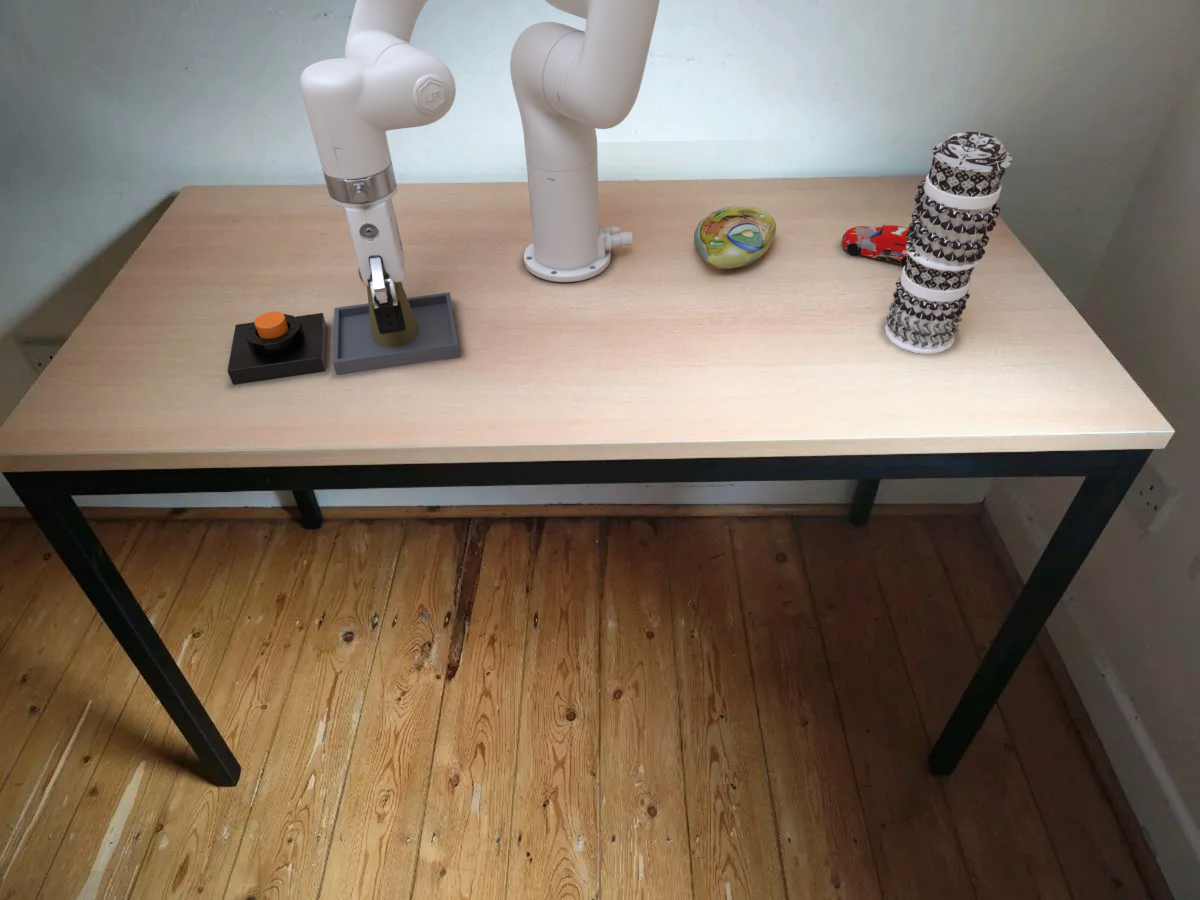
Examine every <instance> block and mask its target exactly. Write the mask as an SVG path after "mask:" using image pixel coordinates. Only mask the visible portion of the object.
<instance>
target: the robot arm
mask: <svg viewBox="0 0 1200 900" xmlns="http://www.w3.org/2000/svg"><path fill="white" fill-rule="evenodd" d="M428 1H429V0H356V1H355V4H354V7H353V12H352V15H351V19H350V23H349V27H348V32H347V37H346V40H345V46H344V55H343V57H335V58H329V59H328V58H327V59H324V60H323V59H322V60H320V61H317V62H314V63H312V64H310V65H308V66H307V67H306V68H305V69H304V70H303V71H302V73H301V75H300V79H299V86H300V92H301V95H302V99H303V102H304V106H305V107H304V108H305V110H306V115H307V118H308V121H309V125H310V130H311V133H312V137H313V140H314V143H315V147H316V151H317V155H318V159H319V162H320V166H321V170H322V173H323V177H324V181H325V185H326V188H327V191H328V196H329V200H330V201H331V202H332V203H333V204H334V205H336V206H338V207H342V208H343V213H344V216H345V222H346V224H347V228H348V229H347V230H348V233H349V237H350V240H351V244H352V249H353V252H354V255H355V259H356V263H357V266H359V270H360V273H361V276H362V279H363V282H364V283H363V282H362V283H363V285H364V284H365V285H364V286H366V287H367V286H368V287H370V289H371V294H372V300H373V310H374V314H375V318H376V322H377V326H378V330H379V333H381V334H386V333H393V332H400V331H404V330H405V329H406V326H405V321H404V317H403V312H402V308H401V304H400V301H397V296H396V290H395V284H394V282H395V283H396V282H401V283H402V284H403V282H405V280H406V277H407V275H406V262H405V261H406V260H405V252H404V246H403V241H402V237H401V233H400V229H399V225H398V220H397V216H396V213H395V208H394V204H393V199H392V198H393V197H394V196H395V195H396V194H397V191H398V185H397V179H396V175H395V170H394V165H393V161H392V155H391V152H390V151H391V150H390V147H389V142H388V141H389V140H388V136H387V131H393V130H394V131H395V130H402V129H409V128H418V127H423V126H428V125H431V124H433V123H436V122H437V121H439V120H441V119H443V118H444V117H445V116H446V115H447V114H448V113H449V111H451V108H452V106H453V105H454V102H455V99H456V93H457V92H456V91H457V90H456V89H457V88H456V87H457V86H456V81H455V78H454V74H453V73H452V71H451V70H450V68H449V67H448V66H447V64H446V63H445V62H444V61H443V60H442V59H440V58H439V57H437V56H436V55H434V54H432V53H431V52H428V51H427V50H424V49H422V48H419V47H418V46H415V45H414V44H412V43H411V40H412V35H413V32H414V29H415V26H416V23H417V20H418V18H419V16H420V14H421V12H422V10H423V8H424V7H425V5H426V3H427V2H428ZM544 1H545V2H546V3H547V4H549V5H550V6H552V7H553V8H555V9H556V10H558V11H561V12H564V13H566V14H570V15H573V16H574V17H578V18H581V19H584V20H586V22H585V30H582V29H578V28H576V27H572V26H570V25H568V24H567V25H566V24H564V23H560V22H554V21H541V22H537V23H533V24H531V25H529V26H528V27H527V28H525V29H523V30H522V32H521V33H520V34H519V35H518V37H517V38H516V40H515V41H514V45H513V47H512V50H511V54H510V60H509V67H510V68H509V69H510V78H511V84H512V88H513V92H514V97H515V100H516V103H517V107H518V112H519V115H520V120H521V126H522V132H523V141H524V142H523V143H524V153H525V163H526V175H527V186H528V198H529V209H530V220H531V232H532V233H531V234H532V241H531V242H530V243H529V245H527V246H526V248H525V250H524V252H523V263H524V267H525V269H526V270H527V271H528V272H529V273H530V274H532V275H533V276H534V277H537V278H540V279H542V280H544V281H548V282H556V283H572V282H573V283H574V282H581V281H585V280H588V279H591V278H594V277H596V276H598V275H599V274H601V273H602V272H604V271H605V270H606V269H607V268H608V267H609V265H610V263H611V259H612V256H611V255H612V253H611V251H612V249H613V248H617V247H621V248H622V247H629V246H633V245H634V237H633V233H632V231H625V232H621V228H620V226H611V227H607V228H605V227H604V226H602V225H601V224H600V200H599V164H598V163H599V162H598V161H599V160H598V155H599V153H598V136H597V130H608V129H613V128H615V127H616V126H618V125H620V124H621V123H622V122H623V121H624V120H625V119H626V118H627V117H628V116H629V114H630V113H631V111H632V110H633V108H634V105H635V104H636V101H637V99H638V97H639V93H640V89H641V86H642V81H643V79H644V75H645V69H646V64H647V61H648V55H649V51H650V46H651V43H652V38H653V34H654V29H655V24H656V20H657V15H658V12H659V5H660V1H661V0H544ZM596 129H597V130H596ZM381 257H382V258H381ZM382 260H383V263H382ZM386 274H389V278H388V279H384V275H386ZM386 285H390V291H391V295H390V293H389V292H387V289H386Z"/></svg>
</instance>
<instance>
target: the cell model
mask: <svg viewBox="0 0 1200 900" xmlns="http://www.w3.org/2000/svg"><path fill="white" fill-rule="evenodd" d="M695 228H696V229H695V231H694V233H693V244H694V247H695V250H696V252H697V253H698V254H699V255H700V257H701V259H702V260H703V261H704V263H706V264H707V265H709V266H710V267H713V268H717V269H726V270H727V269H735V268H742V267H745V266H749V265H750V264H752V263H755V262H756V261H757V260H758V259H760V258H761V257H763V255H764V254H766V252H767V251H768V250H769V248H770V247H771V246H772V244H773V241H774V238H775V235H776V234H777V223H776V220H775V218H774V217H773V215H772V214H771V213H770V212H768V211H766V210H764V209H761V208H759V207H755V206H729V207H724V208H720V209H717V210H714V211H712V212H710V213H708V214H706V215H705V216H703V218H701V219H700V221H699V222H698V224H697V226H696V227H695Z"/></svg>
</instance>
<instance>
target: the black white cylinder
mask: <svg viewBox="0 0 1200 900" xmlns="http://www.w3.org/2000/svg"><path fill="white" fill-rule="evenodd" d="M932 154H933V158H932V161H931V166H930V168H929V172H928V174H927V175H926V177H925V179H924V180H923V179H922V180H921V181H920V184H921V185H920V184H918V185H917V190H918V191H917V194H916V195H915V196H914V199H913V200H914V202H915V205H914V210H913V212H912V213H911V219H912V220H911V221H912V222H911V223H910V224H909V225H908V228H909V230H910V231H911V232H910V233H909V240H907V241H906V249H907V254H908V256H907V260H906V264H905V266H903V267H902V270H901V274H900V276H899V277H898V280H896V282H895V286H896V290H895V291H894V292H893V293H892V297H893V300H892V302H891V303H890V304H889V306H888V307H889V308H888V309H889V312H888V313H887V315H886V320H887V323H886V324H885V326H884V330H885V336H886V337H887V339H889V341H890V342H891V343H892V344H893V345H895V346H896V347H898V348H900V349H902V350H905V351H908V352H911V353H914V354H922V355H923V354H924V355H933V354H939V353H943V352H945V351H947V350H948V349H950V348H951V347H952V345H953V344H954V342H955V340H956V339H955V337H956V334H955V333H958V332H959V330H960V329H959V326H960V323H961V322H962V321H963V317H961V316H962V315H963V313H964V310H966V309H967V305H966V304H967V300H968V299H969V298H970V296H971V295H970V293H969V289H970V286H971V284H972V277H971V276H972V274H973V272H974V268H975V267H976V266H978V265H979V263H980V262H981V260H982V258H983V256H984V255H985V254H986V250H985V249H984V247H986V246H987V245H988V243H989V241H990V237H989V235H987V233H988V232H992V231H993V230H994V229H995V227H996V226H997V222H996V221H995V220H994V219H996V218H998V217H999V215H1000V212H1001V207H999V206H998V203H997V202H998V200H999V197H1000V195H1001V191H1002V188H1003V185H1002V181H1003V178H1004V176H1005V175H1006V168H1008V167H1010V165H1011V164H1012V163H1013V158H1012V155H1011V153H1010V152H1008V151H1007V150H1006V147H1005V146H1004V143H1003V141H1002V140H1000V139H999V138H997V137H996V136H993V135H991V134H988V133H983V132H979V131H963V132H957V133H955V134H952V135H949V136H948V137H947V138H946V139H945V140H944V141H942V142H940V143H936V145H935V146H934V147H933V148H932Z"/></svg>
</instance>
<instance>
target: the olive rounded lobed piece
mask: <svg viewBox="0 0 1200 900" xmlns="http://www.w3.org/2000/svg"><path fill="white" fill-rule="evenodd" d="M381 258H382V257H381ZM382 263H383V260H382ZM357 266H358V265H357ZM357 270H358V276H359V279H360V281H361V283H362V284H363V285H364V286H366V285H365V284H364V282H363V279H362V276H361V273H360V270H359V266H358V269H357ZM388 278H389V274H386V275H384V279H388ZM394 284H395V290H396V296H397V301H400V304H401V308H402V312H403V317H404V321H405V326H406V329H405V330H404V331H400V332H393V333H386V334H381V333H379V330H378V326H377V322H376V318H375V314H374V310H373V300H372V294H371V289H370V287H368V286H366V293H367V300H368V301H367V302H368V304H369V314H370V324H371V334H372V340H373V341H374V342H375V343H376V344H378V345H380V346H384V347H397V346H402V345H405V344H408V343H409V342H411V341H413V340H414V339H415V338H416V337H417V336H418V333H419V329H418V326H417V323H416V320H415V318H414V315H413V312H412V310H411V307H410V304H409V302H408V299H407V298H408V296H407V294H406V291H405V288H404V286H403V282H402V283H401V282H396V283H395V282H394ZM386 289H387V292H389V293H390V295H391V291H390V285H386Z"/></svg>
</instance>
